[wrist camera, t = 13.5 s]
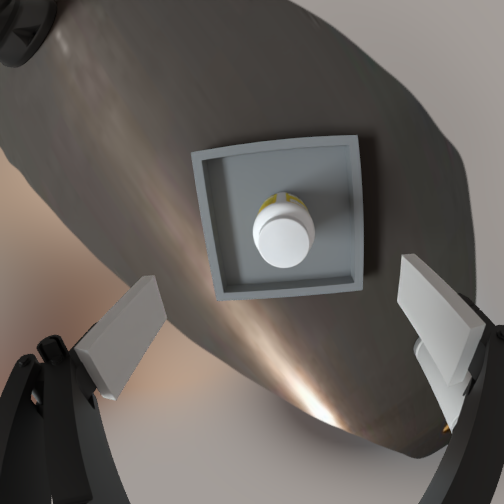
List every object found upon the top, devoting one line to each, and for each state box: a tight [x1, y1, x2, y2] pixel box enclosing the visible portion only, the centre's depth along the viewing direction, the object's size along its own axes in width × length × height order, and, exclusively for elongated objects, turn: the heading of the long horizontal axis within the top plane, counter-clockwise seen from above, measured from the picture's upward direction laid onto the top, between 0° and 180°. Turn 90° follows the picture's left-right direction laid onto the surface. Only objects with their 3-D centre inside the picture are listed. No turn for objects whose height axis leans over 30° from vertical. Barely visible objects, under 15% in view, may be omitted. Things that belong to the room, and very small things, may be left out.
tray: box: [191, 135, 364, 301], centre depth 29 cm, size 17×17×3 cm
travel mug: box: [414, 336, 472, 434], centre depth 25 cm, size 6×7×20 cm
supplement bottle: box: [253, 192, 315, 268], centre depth 25 cm, size 5×5×10 cm
